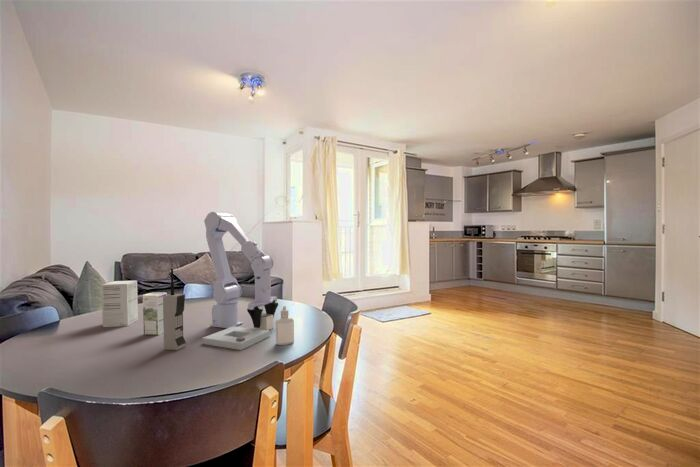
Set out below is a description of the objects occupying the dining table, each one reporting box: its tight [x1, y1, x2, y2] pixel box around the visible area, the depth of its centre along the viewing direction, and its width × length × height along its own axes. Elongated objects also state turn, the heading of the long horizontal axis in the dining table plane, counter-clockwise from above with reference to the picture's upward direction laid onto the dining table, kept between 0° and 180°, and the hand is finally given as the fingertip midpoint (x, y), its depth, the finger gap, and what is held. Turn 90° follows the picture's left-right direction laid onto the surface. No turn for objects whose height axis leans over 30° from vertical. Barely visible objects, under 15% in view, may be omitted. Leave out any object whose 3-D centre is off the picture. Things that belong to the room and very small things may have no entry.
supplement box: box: [101, 280, 139, 328], centre depth 135 cm, size 10×9×17 cm
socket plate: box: [201, 326, 271, 351], centre depth 111 cm, size 16×14×3 cm
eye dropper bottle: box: [275, 305, 295, 346], centre depth 107 cm, size 4×6×12 cm
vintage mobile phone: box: [163, 268, 187, 351], centre depth 104 cm, size 4×5×25 cm
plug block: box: [253, 312, 275, 331], centre depth 124 cm, size 6×4×5 cm, turn 67°
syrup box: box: [142, 292, 168, 336], centre depth 121 cm, size 6×6×14 cm
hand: (263, 324), depth 124 cm, fingers open, 7 cm apart
